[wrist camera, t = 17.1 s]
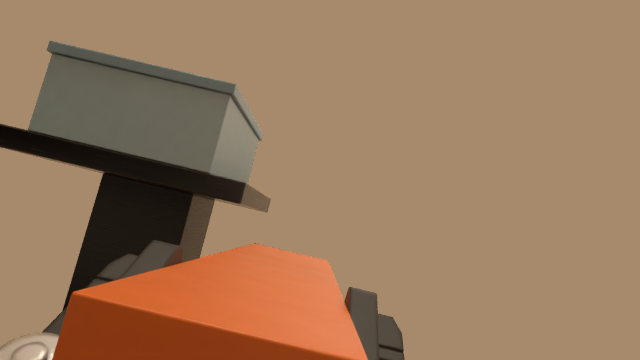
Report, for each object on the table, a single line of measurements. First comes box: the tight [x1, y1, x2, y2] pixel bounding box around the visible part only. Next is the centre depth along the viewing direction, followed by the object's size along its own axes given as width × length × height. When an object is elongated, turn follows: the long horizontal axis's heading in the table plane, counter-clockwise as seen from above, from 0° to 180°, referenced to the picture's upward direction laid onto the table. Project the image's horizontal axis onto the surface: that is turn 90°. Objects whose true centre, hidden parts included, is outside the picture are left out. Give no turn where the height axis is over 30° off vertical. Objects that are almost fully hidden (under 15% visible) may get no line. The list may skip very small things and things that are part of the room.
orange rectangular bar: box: [52, 243, 368, 360], centre depth 15 cm, size 4×19×4 cm, turn 1°
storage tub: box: [28, 41, 263, 184], centre depth 29 cm, size 10×12×5 cm
